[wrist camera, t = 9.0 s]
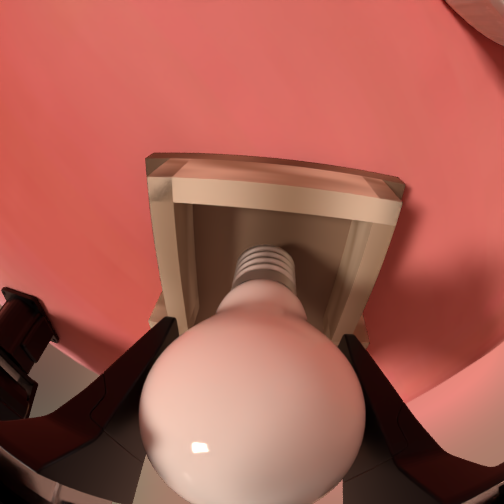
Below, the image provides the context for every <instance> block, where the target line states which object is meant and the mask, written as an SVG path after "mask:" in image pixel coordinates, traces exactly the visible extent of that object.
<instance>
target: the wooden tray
mask: <svg viewBox="0 0 504 504" xmlns="http://www.w3.org/2000/svg"><path fill="white" fill-rule="evenodd" d="M145 162H146V174H147V185H148V195H149V205H150V213H151V221H152V229H153V236H154V243H155V250H156V256H157V262H158V268H159V274H160V280H161V285H162V290H163V291H162V293H161V295H160V297H159V299H158V301H157V303H156V305H155V308H154V310H153V312H152V314H151V316H150V318H149V320H148V321H149V324H150V328H152V327H153V326H155V325H156V324H157V323H158V322H159V321H160V320H161V319H162V318H163V317H165V316H170V317H175V318H176V320H177V324H178V330H179V336H180V335H181V334H183V333H184V332H185V331H187V330H188V329H190V328H191V327H193V326H195V325H196V324H198V323H200V322H202V321H203V320H205V319H207V318H209V317H211V316H213V315H214V314H215V312H216V310H217V309H218V307H219V305H220V303H221V302H222V300H223V299H224V297H225V296H226V295H227V294H228V293H229V292H230V291H231V288H232V283H233V278H234V275H235V270H236V264H237V261H238V258H239V257H240V255H241V254H242V253H243V252H244V251H245V250H247V249H248V248H250V247H252V246H255V245H261V244H269V245H274V246H277V247H280V248H282V249H283V250H285V251H286V252H287V253H288V254H289V255H290V256H291V257H292V259H293V261H294V265H295V278H296V294H297V297H298V298H299V300H300V301H301V303H302V305H303V307H304V310H305V312H306V315H307V318H308V321H309V323H310V324H312V325H313V326H314V327H316V328H317V329H318V330H319V331H321V332H322V333H323V334H324V335H325V336H327V337H328V338H329V339H330V340H331V341H332V342H333V343H334V344H335V345H336V346H337V347H338V345H339V342H340V340H341V338H342V336H343V335H344V334H354V335H355V336H356V337H357V338H358V340H359V341H360V342H361V344H362V345H363V346H364V348H365V349H366V348H367V347H368V345H369V343H370V342H369V338H368V334H367V329H366V325H365V321H364V318H363V314H362V313H363V310H364V308H365V306H366V303H367V301H368V299H369V296H370V294H371V292H372V289H373V287H374V284H375V282H376V279H377V277H378V274H379V271H380V269H381V266H382V264H383V261H384V258H385V255H386V253H387V250H388V247H389V244H390V241H391V238H392V235H393V232H394V229H395V226H396V223H397V220H398V217H399V213H400V210H401V207H402V203H403V202H402V201H401V199H402V196H403V192H404V188H405V184H404V183H403V182H402V181H401V180H400V179H399V178H398V177H394V176H389V175H384V174H379V173H374V172H369V171H363V170H358V169H352V168H346V167H340V166H333V165H327V164H320V163H312V162H304V161H296V160H287V159H278V158H267V157H256V156H243V155H227V154H205V153H153V154H151V155H150V156H148V157H147V158H145Z"/></svg>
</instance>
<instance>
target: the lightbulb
mask: <svg viewBox="0 0 504 504" xmlns="http://www.w3.org/2000/svg"><path fill="white" fill-rule="evenodd" d="M138 420H139V431H140V436H141V440H142V444H143V447H144V450H145V452H146V454H147V456H148V459H149V461H150V462H151V464H152V466H153V468H154V469H155V470H156V472H157V473H158V475H159V476H160V478H161V479H162V480H163V481H164V482H165V483H166V484H167V485H168V486H169V487H170V488H171V489H172V490H173V491H174V492H175V493H177V494H178V495H179V496H181V497H182V498H183V499H185V500H186V501H188V502H189V503H191V504H313V503H315V502H317V501H318V500H320V499H321V498H323V497H324V496H325V495H327V494H328V493H329V492H330V491H331V490H332V489H334V488H335V486H337V485H338V483H339V482H340V481H341V480H342V479H343V478H344V477H345V475H346V474H347V473H348V471H349V470H350V468H351V467H352V465H353V463H354V461H355V459H356V457H357V455H358V453H359V450H360V447H361V444H362V441H363V437H364V432H365V423H366V408H365V400H364V395H363V391H362V387H361V384H360V382H359V379H358V377H357V375H356V372H355V371H354V369H353V367H352V365H351V364H350V362H349V361H348V359H347V358H346V356H345V355H344V354H343V353H342V351H341V350H340V349H339V348H338V347H337V346H336V345H335V344H334V343H333V342H332V341H331V340H330V339H329V338H328V337H327V336H325V335H324V334H323V333H322V332H321V331H319V330H318V329H317V328H316V327H314V326H313V325H312V324H310V323H309V321H308V318H307V315H306V312H305V310H304V307H303V305H302V303H301V301H300V300H299V298H298V297H297V294H296V278H295V265H294V261H293V259H292V257H291V256H290V255H289V254H288V253H287V252H286V251H285V250H283V249H282V248H280V247H277V246H274V245H269V244H261V245H255V246H252V247H250V248H248V249H247V250H245V251H244V252H243V253H242V254H241V255H240V257H239V258H238V261H237V264H236V270H235V275H234V278H233V283H232V288H231V291H230V292H229V293H228V294H227V295H226V296H225V297H224V299H223V300H222V302H221V303H220V305H219V307H218V309H217V310H216V312H215V314H214V315H213V316H211V317H209V318H207V319H205V320H203V321H202V322H200V323H198V324H196V325H195V326H193V327H191V328H190V329H188V330H187V331H185V332H184V333H183V334H181V335H180V336H179V337H177V338H176V339H175V340H174V341H173V342H172V343H171V344H170V345H168V346H167V348H166V349H165V350H164V351H163V352H162V353H161V354H160V356H159V357H158V358H157V360H156V361H155V363H154V364H153V366H152V368H151V369H150V371H149V373H148V375H147V378H146V380H145V382H144V385H143V388H142V392H141V396H140V402H139V412H138Z"/></svg>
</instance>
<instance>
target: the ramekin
mask: <svg viewBox="0 0 504 504" xmlns="http://www.w3.org/2000/svg"><path fill="white" fill-rule="evenodd" d="M445 1H446V2H447V3H448V4H449V5H450V6H451V7H452V9H453V10H454V11H455V12H457V13H458V14H459V15H460V16H461V17H462V18H463V19H464V20H465V21H466V22H467V23H468V24H470V25H471V26H473V27H474V28H475V29H476V30H477V31H478V32H480V33H482V34H483V35H484V36H486V37H487V38H489V39H491V40H492V41H494V42H496V43H498V44H500V45H502V46H504V0H445Z"/></svg>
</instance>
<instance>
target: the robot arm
mask: <svg viewBox="0 0 504 504" xmlns="http://www.w3.org/2000/svg"><path fill="white" fill-rule="evenodd" d="M1 291H2V293H3V295H4V297H5V299H6V302H5V304H4V305H3V306H2V308H1V309H0V365H1V366H2V367H3V368H4V369H5V370H6V371H7V372H6V371H5V370H4V369H3V368H2V367H1V366H0V504H112V501H113V502H116V503H121V504H132V503H133V499H134V496H135V492H136V488H137V484H138V481H139V477H140V474H141V470H142V466H143V462H144V459H145V456H146V452H145V450H144V447H143V444H142V440H141V436H140V431H139V420H138V412H139V402H140V396H141V392H142V388H143V385H144V382H145V380H146V378H147V375H148V373H149V371H150V369H151V368H152V366H153V364H154V363H155V361H156V360H157V358H158V357H159V356H160V354H161V353H162V352H163V351H164V350H165V349H166V348H167V346H168V345H170V344H171V343H172V342H173V341H174V340H175V339H176V338H177V337H179V330H178V324H177V320H176V318H175V317H170V316H165V317H163V318H162V319H161V320H160V321H159V322H158V323H157V324H156V325H155V326H153V327H152V328H151V329H150V330H149V331H148V332H147V333H146V334H145V335H144V336H143V337H141V338H140V339H139V340H138V341H137V342H136V343H135V344H134V345H133V346H132V347H131V348H129V349H128V350H127V351H126V352H125V353H124V354H123V355H122V356H121V357H120V358H119V359H117V360H116V361H115V362H114V363H113V364H112V365H111V366H110V367H109V368H108V369H107V370H106V371H104V374H101V375H100V376H99V377H98V378H97V379H96V380H95V381H94V382H92V383H91V384H90V385H89V386H88V387H87V388H85V389H84V390H83V391H82V392H80V393H79V394H78V395H76V396H75V397H73V398H72V399H71V400H69V401H68V402H67V403H65V404H64V405H62V406H61V407H60V408H58V409H57V410H55V411H54V412H52V413H50V414H48V415H45V416H41V417H36V418H29V415H30V411H31V408H32V404H33V401H34V397H35V393H36V390H37V387H38V383H37V382H36V381H34V380H32V379H31V378H30V377H29V376H28V375H27V374H29V372H30V370H31V368H32V366H33V365H34V363H37V362H38V360H39V358H40V356H41V355H42V353H43V351H44V350H45V348H46V347H47V345H48V343H49V342H50V341H52V342H54V343H58V342H59V338H58V336H57V334H56V333H55V331H54V329H53V328H52V326H51V324H50V322H49V321H48V319H47V317H46V315H45V313H44V312H43V310H42V308H41V306H40V304H39V302H38V300H37V299H36V298H34V297H32V296H29V295H26V294H23V293H20V292H17V291H14V290H11V289H8V288H5V287H3V288H2V290H1ZM338 348H339V349H340V350H341V351H342V353H343V354H344V355H345V356H346V358H347V359H348V361H349V362H350V364H351V365H352V367H353V369H354V371H355V372H356V375H357V377H358V379H359V382H360V384H361V387H362V391H363V395H364V400H365V408H366V423H365V432H364V437H363V441H362V444H361V447H360V450H359V453H358V455H357V457H356V459H355V461H354V463H353V465H352V467H351V468H350V470H349V471H348V473H347V474H346V475H345V477H344V478H343V504H504V482H503V483H501V482H502V481H504V462H503V463H501V464H500V465H498V466H495V467H487V466H483V465H480V464H477V463H473V462H470V461H467V460H464V459H462V458H459V457H456V456H453V455H451V454H449V453H447V452H446V451H444V450H443V449H442V448H441V447H440V446H439V445H438V444H437V442H435V440H434V439H433V438H432V437H431V436H430V434H429V433H428V432H427V431H426V430H425V429H424V428H423V427H422V425H421V424H420V423H419V422H418V420H417V419H416V418H415V417H414V415H413V414H412V413H411V411H410V410H409V409H408V407H407V406H406V404H405V403H404V402H403V400H402V399H401V397H400V396H399V394H398V393H397V392H396V390H395V389H394V387H393V386H392V385H391V383H390V382H389V380H388V379H387V378H386V376H385V375H384V374H383V372H382V371H381V369H380V368H379V367H378V365H377V364H376V363H375V361H374V360H373V359H372V357H371V356H370V354H369V353H368V352H367V350H366V349H365V348H364V346H363V345H362V344H361V342H360V341H359V340H358V338H357V337H356V336H355V335H354V334H344V335H343V336H342V338H341V340H340V342H339V345H338ZM499 483H501V484H499ZM498 484H499V485H498Z"/></svg>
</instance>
